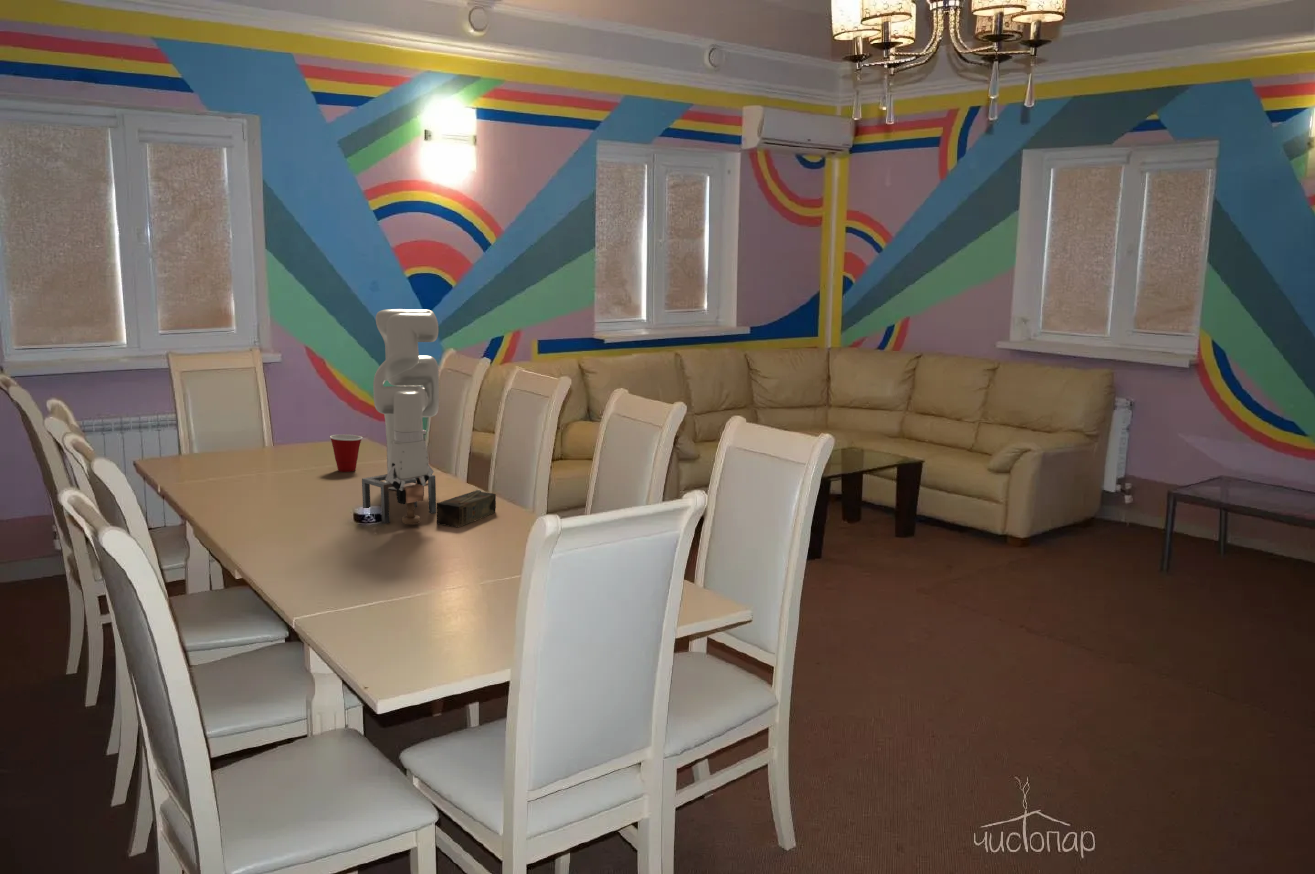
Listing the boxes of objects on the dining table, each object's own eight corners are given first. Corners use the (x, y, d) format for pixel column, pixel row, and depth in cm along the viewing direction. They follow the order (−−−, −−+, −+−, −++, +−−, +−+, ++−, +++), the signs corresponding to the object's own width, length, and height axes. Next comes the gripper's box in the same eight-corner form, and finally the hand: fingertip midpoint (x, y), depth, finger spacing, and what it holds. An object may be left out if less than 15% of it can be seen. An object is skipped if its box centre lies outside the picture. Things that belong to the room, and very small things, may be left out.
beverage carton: (497, 513, 294) (497, 491, 293) (459, 529, 276) (458, 505, 275) (474, 510, 297) (474, 488, 296) (435, 525, 280) (434, 502, 278)
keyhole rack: (414, 506, 299) (413, 469, 297) (436, 512, 292) (435, 475, 290) (363, 516, 287) (361, 478, 285) (384, 523, 280) (383, 484, 278)
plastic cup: (368, 471, 346) (367, 436, 344) (337, 474, 339) (336, 439, 337) (356, 465, 354) (355, 431, 352) (326, 469, 348) (324, 434, 345)
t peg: (413, 518, 281) (412, 482, 279) (424, 521, 278) (423, 485, 276) (398, 521, 277) (397, 485, 275) (408, 525, 274) (407, 488, 272)
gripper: (427, 430, 282) (428, 493, 285) (373, 438, 269) (375, 504, 273) (443, 434, 277) (444, 498, 280) (389, 442, 264) (391, 510, 268)
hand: (410, 501), depth 276 cm, fingers closed on t peg, 5 cm apart
